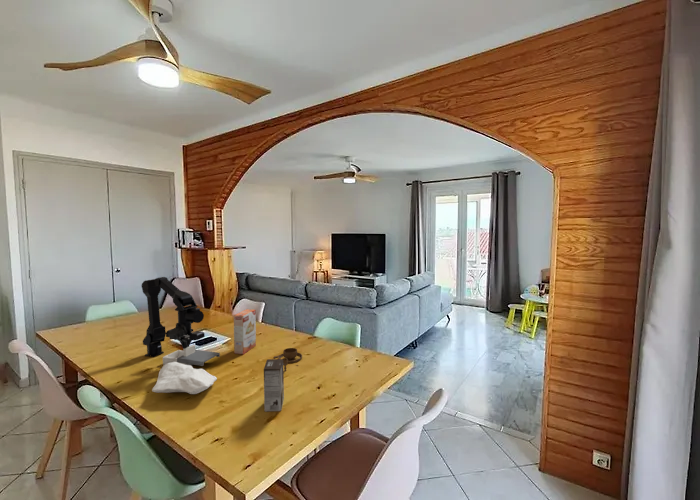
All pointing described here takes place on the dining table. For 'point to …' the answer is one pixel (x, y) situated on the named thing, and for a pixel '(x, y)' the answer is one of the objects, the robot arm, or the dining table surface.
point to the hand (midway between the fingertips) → (185, 351)
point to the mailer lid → (196, 356)
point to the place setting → (289, 356)
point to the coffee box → (273, 385)
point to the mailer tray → (173, 357)
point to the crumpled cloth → (182, 379)
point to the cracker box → (244, 331)
